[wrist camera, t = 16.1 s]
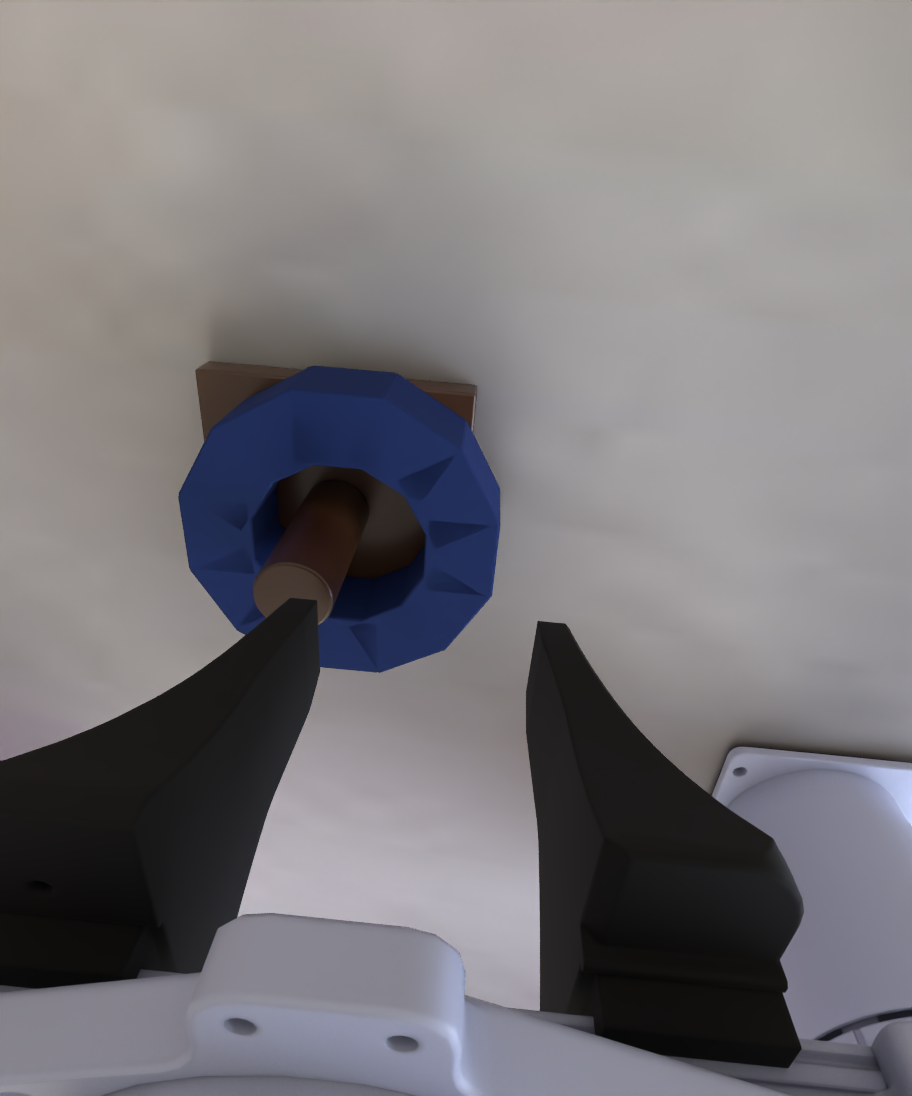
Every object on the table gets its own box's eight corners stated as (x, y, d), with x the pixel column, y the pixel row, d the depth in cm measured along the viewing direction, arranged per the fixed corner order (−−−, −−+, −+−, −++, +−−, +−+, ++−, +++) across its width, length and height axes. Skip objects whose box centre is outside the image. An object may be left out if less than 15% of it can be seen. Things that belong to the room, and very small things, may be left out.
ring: (483, 636, 22) (481, 683, 20) (229, 612, 22) (201, 657, 20) (512, 382, 18) (514, 408, 16) (197, 354, 18) (158, 376, 16)
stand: (457, 608, 23) (444, 733, 18) (234, 587, 23) (156, 705, 18) (477, 384, 19) (468, 460, 14) (208, 360, 19) (98, 426, 14)
